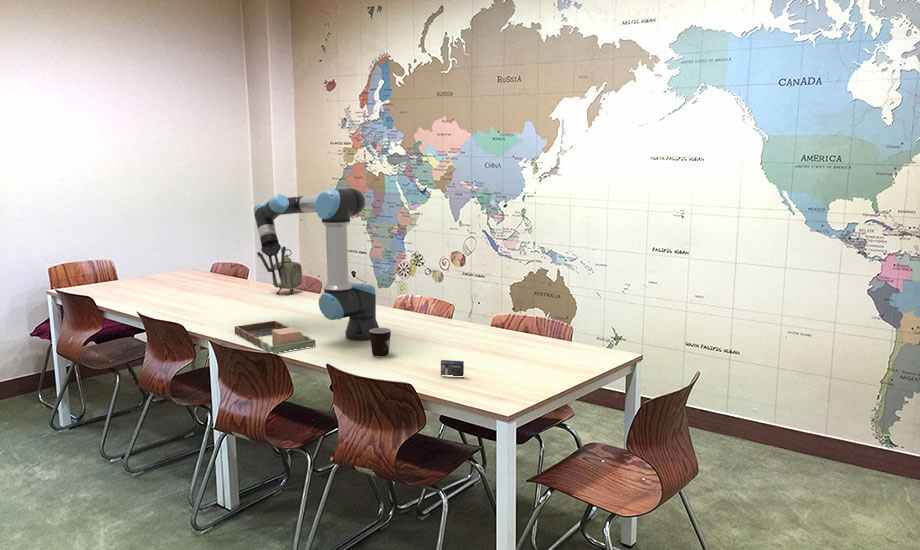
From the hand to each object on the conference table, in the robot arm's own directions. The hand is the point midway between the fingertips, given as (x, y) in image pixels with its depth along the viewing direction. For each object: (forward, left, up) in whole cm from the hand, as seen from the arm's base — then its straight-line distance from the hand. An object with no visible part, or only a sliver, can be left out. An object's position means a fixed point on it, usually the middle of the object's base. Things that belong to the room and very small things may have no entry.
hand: (279, 284), depth 334 cm
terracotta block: (-21, +6, -23) cm, 31 cm away
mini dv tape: (-94, -26, -23) cm, 100 cm away
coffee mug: (-54, -18, -23) cm, 61 cm away
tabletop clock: (+82, -40, -23) cm, 94 cm away
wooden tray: (-7, +6, -22) cm, 24 cm away
